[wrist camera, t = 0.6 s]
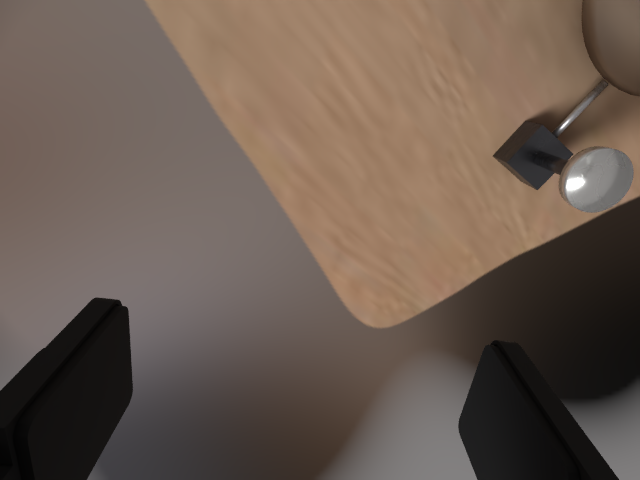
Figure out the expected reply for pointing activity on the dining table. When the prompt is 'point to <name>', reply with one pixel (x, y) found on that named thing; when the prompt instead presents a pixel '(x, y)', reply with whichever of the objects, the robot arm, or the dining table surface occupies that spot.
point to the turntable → (614, 41)
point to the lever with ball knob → (568, 163)
